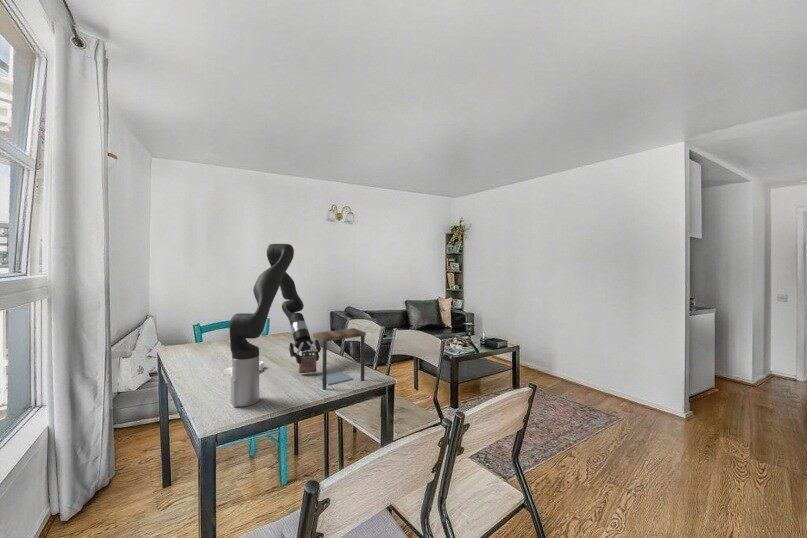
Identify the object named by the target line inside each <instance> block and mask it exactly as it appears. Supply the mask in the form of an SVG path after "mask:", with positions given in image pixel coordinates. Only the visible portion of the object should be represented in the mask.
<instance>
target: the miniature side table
mask: <svg viewBox="0 0 807 538" xmlns="http://www.w3.org/2000/svg"><path fill="white" fill-rule="evenodd" d="M366 333H367V332H366V331H362V330H360V329H357V328H354V327H353V328H346V329H345V328H343V329H338V330H336V329H335V330H329V331H328V330H327V331H323V332H321V331H320V332H314V333H313V332H312V337H313V339H314V338H315V340H318V341H320V342H322V375H323V381H322V390H323V389H326V390H327V384H326V381H327V374H328V373H327V367H328V366H327V362H328V361H327V355H328V354H327V350H328V349H327V347H328V346H327V344H328V343H327V342H331V341H339V340H346V339H353V338H358V337H360V382H364V381H365V351H366V350H365V345H366V344H365V341H366V340H365V337H366V335H367V334H366Z"/></svg>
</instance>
